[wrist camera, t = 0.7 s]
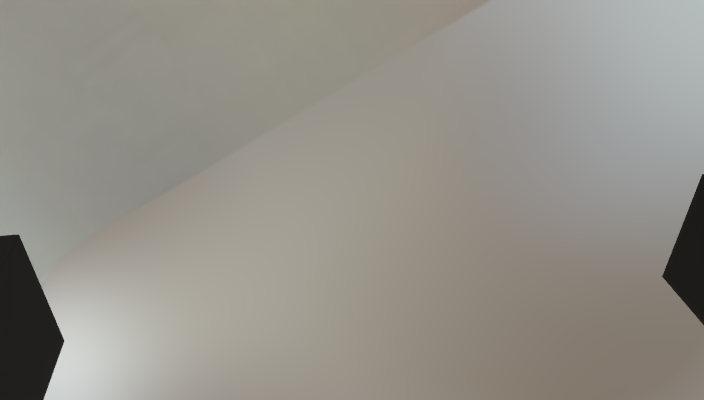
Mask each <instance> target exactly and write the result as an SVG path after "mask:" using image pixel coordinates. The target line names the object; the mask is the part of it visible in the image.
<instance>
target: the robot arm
mask: <svg viewBox="0 0 704 400" xmlns="http://www.w3.org/2000/svg"><path fill="white" fill-rule="evenodd" d="M663 278H664V279H665V280H666V281H667V283H668V284H669V285H670V286H671V287H672V288H673V290H674V291H675V292H676V293H677V294H678V295H679V297H680V298H681V299H682V300H683V301H684V302H685V303H686V305H687V306H688V307H689V308H690V309H691V311H692V312H693V313H694V314H695V315H696V316H697V318H698V319H699V320H700V321H701V322H702V323H703V325H704V174H703V175H702V176H701V179H700V182H699V184H698V187H697V189H696V192H695V194H694V197H693V199H692V202H691V205H690V207H689V210H688V212H687V215H686V218H685V220H684V222H683V225H682V228H681V230H680V233H679V236H678V238H677V241H676V243H675V246H674V248H673V251H672V254H671V256H670V258H669V261H668V263H667V266H666V269H665V271H664V274H663ZM63 343H64V339H63V337H62V334H61V332H60V330H59V327H58V326H57V323H56V320H55V318H54V316H53V313H52V311H51V309H50V307H49V304H48V302H47V299H46V297H45V295H44V292H43V290H42V288H41V285H40V283H39V281H38V278H37V276H36V274H35V271H34V269H33V267H32V264H31V262H30V260H29V257H28V255H27V253H26V250H25V248H24V246H23V243H22V241H21V239H20V236H19V235H8V236H0V400H43V399H44V396H45V393H46V391H47V388H48V385H49V382H50V379H51V376H52V373H53V370H54V368H55V365H56V362H57V359H58V357H59V354H60V351H61V348H62V346H63Z"/></svg>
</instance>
